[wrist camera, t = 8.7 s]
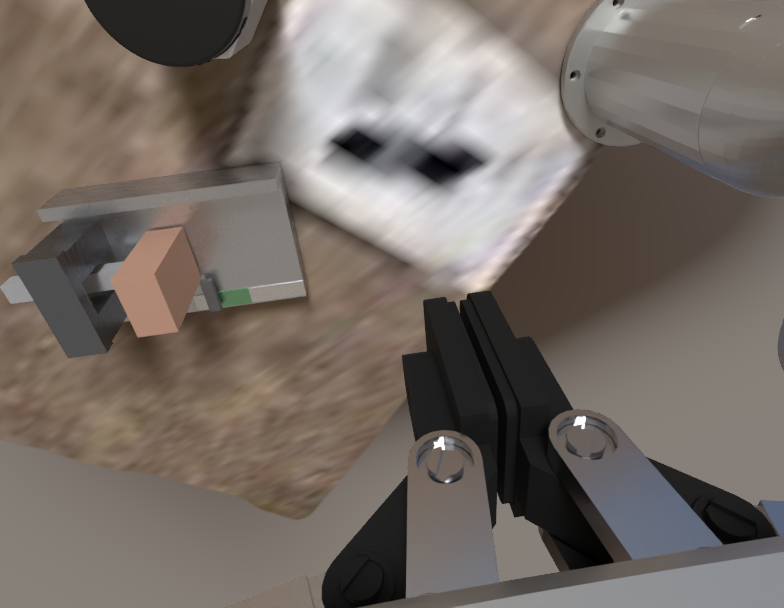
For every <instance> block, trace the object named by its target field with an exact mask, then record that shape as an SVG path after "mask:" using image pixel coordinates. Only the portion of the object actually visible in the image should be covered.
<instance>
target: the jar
mask: <svg viewBox="0 0 784 608" xmlns="http://www.w3.org/2000/svg"><path fill="white" fill-rule="evenodd" d="M267 1H268V0H85V2H86V4H87V6H88V8H89V9H90V11H91V13H92V14H93V15H94V17H95V18H96V20H97V21H98V22H99V23H100V25H101V26H102V27H103V28H104V29H105V30H106V31H107V33H108V34H109V35H110V36H111V37H113V38H114V39H115V40H116V41H117V42H118V43H119V44H121V45H122V46H123V47H125V48H126V49H128V50H129V51H131V52H132V53H134V54H136V55H137V56H139V57H141V58H144V59H146V60H148V61H151V62H154V63H157V64H161V65H165V66H172V67H188V66H194V65H201V64H203V63H206V62H209V61H211V60H213V59H229V58H231V57H232V56H233V55H235V54H236V53H237V52H239V51H240V50H241V49H243V48H244V47H245V46H247V45H248V44H250V43H251V41H252V39H253V36H254V34H255V31H256V28H257V26H258V23H259V21H260V18H261V16H262V13H263V11H264V8H265V6H266V3H267Z"/></svg>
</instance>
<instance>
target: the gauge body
mask: <svg viewBox="0 0 784 608" xmlns="http://www.w3.org/2000/svg"><path fill="white" fill-rule="evenodd" d="M36 211H37V213H38V215H39V216H40V218H41V220H42V222H48V221H56V220H59V221H60V223H61V224H60V225H59V226H58V227H56V228H55V229H54V230H53V231H52V232H51V233H50V234H49V235H47V236H46V237H45V238H44V239H43V240H42V241H41V242H40V243H39V244H37V245H36V246H35V247H34V248H33V249H32V250H31V251H30V252H28V253H27V254H26V255H22V256H20V257H19V258H17V259H16V260H15V261H14V262H13V263H12V265H13V267H14V269H15V270H16V272H17V274H18V275H19V277H20V279H21V280H22V282H23V284H24V285H25V287H26V289H27V290H28V292H29V294H30V295H31V297H32V299H33V300H34V302H35V304H36V305H37V307H38V309H39V310H40V312H41V314H42V315H43V317H44V319H45V320H46V322H47V324H48V325H49V327H50V329H51V330H52V332H53V334H54V335H55V337H56V339H57V340H58V342H59V344H60V345H61V347H62V349H63V350H64V352H65V354H66V355H67V357H68V358H73V357H80V356H87V355H94V354H101V353H107V352H108V351H109V349H110V347H111V346H112V344H113V342H112V340H113V339H114V337H115V335H116V334H117V332H118V330H119V329H120V327H121V325H122V324H123V322H126V321H130V320H129V318H128V316H127V314H126V312H125V310H124V308H123V306H122V304H121V302H120V300H119V297H118V295H117V293H116V291H115V289H114V290H107V291H100V292H93V293H86V291H85V289H84V287H83V285H82V283H83V281H84V280H85V279H86V278H87V277H88V275H89V274H90V273H91V272H92V271H93V269H94V268H95V267H96V266H97V265H101V264H108V263H116V262H123V261H125V259H126V258H127V257H128V255H129V254H130V252H131V251H132V250H133V248H134V247H135V246H136V244H137V243H138V242H139V240H140V239H141V238H142V236H143V235H144V233H145V232H146V231H153V230H161V229H168V228H176V227H183V229H184V232H185V235H186V237H187V240H188V243H189V246H190V248H191V251H192V254H193V257H194V259H195V262H196V265H197V268H198V270H199V273H200V276H201V279H209V278H213V281H214V284H215V287H216V290H217V293H218V296H219V299H220V301H221V304H222V308H226V307H233V306H240V305H247V304H254V303H261V302H268V301H275V300H282V299H289V298H296V297H303V296H307V279H306V274H305V270H304V266H303V261H302V257H301V252H300V248H299V243H298V239H297V234H296V230H295V226H294V221H293V217H292V212H291V208H290V203H289V199H288V194H287V190H286V186H285V181H284V177H283V172H282V168H281V163H280V161H279V162H272V163H264V164H256V165H248V166H241V167H233V168H225V169H218V170H210V171H202V172H195V173H187V174H179V175H172V176H164V177H156V178H149V179H141V180H133V181H125V182H118V183H110V184H102V185H95V186H87V187H79V188H72V189H64V190H61V191H60V192H59V193H58V194H56V195H55V196H54V197H52V198H51V199H50V200H48V201H47V202H46V203H45V204H43V205H42V206H41V207H39V208H38V209H37V210H36ZM204 310H209V308H208V305H207V302H206V299H205V297H204V294H203V291H202V289H201V286H200V283H199V285H198V288H197V290H196V292H195V294H194V297H193V299H192V301H191V304H190V306H189V308H188V311H187V313H190V312H197V311H204Z"/></svg>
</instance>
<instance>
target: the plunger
mask: <svg viewBox="0 0 784 608" xmlns="http://www.w3.org/2000/svg"><path fill="white" fill-rule="evenodd" d="M199 283H200V286H201V289H202V291H203V294H204V297H205V299H206V302H207V305H208V308H209V310H210V312H215V311H221V310H222V304H221V301H220V299H219V296H218V293H217V290H216V287H215V284H214V281H213V278H209V279H201V276H200V273H199V270H198V268H197V265H196V262H195V259H194V257H193V254H192V251H191V248H190V246H189V243H188V240H187V237H186V235H185V232H184V229H183V227H176V228H168V229H161V230H153V231H146V232H145V233H144V235H143V236H142V238H141V239H140V240H139V242H138V243H137V244H136V246H135V247H134V248H133V250H132V251H131V252H130V254H129V255H128V257H127V258H126V259H125V261H123V262H116V263H108V264H101V265H97V266H96V267H95V268H94V269H93V271H92V272H91V273H90V274H89V275H88V277H87V278H86V279H85V280H84V281H83V283H82V285H83V287H84V289H85V291H86V293H93V292H100V291H107V290H114V289H115V291H116V293H117V295H118V297H119V300H120V302H121V304H122V306H123V308H124V310H125V312H126V314H127V316H128V318H129V320H130V322H131V324H132V326H133V328H134V330H135V333H136V335H137V337H145V336H152V335H159V334H166V333H173V332H179V329H180V327H181V325H182V322H183V320H184V318H185V315H186V313H187V311H188V308H189V306H190V304H191V301H192V299H193V297H194V294H195V292H196V290H197V288H198V285H199ZM0 288H1V289H2V291H3V293H4V294H5V296H6V297H7V299H8V300H9V302H10V304H13V303H21V302H28V301H34V300H33V299H32V297H31V295H30V294H29V292H28V290H27V289H26V287H25V285H24V284H23V282H22V280H21V279H20V277H19V276H13V277H10V278H9V279H8V280H7V281H6V282H5V283H4V284H3V285H1V286H0Z"/></svg>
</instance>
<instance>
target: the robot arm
mask: <svg viewBox="0 0 784 608" xmlns="http://www.w3.org/2000/svg"><path fill="white" fill-rule="evenodd" d="M572 72H573V76H572V77H571V78H570V75H571V73H572ZM561 95H562V99H563V104H564V108H565V110H566V112H567V115H568V117H569V119H570V121H571V122H572V123H573V124H574V126H575V127H576V128H577V129H578V131H580V132H581V133H582V134H584V135H585V136H586V137H588V138H589V139H591V140H593V141H595V142H597V143H600V144H603V145H607V146H613V147H626V146H633V145H638V144H641V143H645V144H647V145H649V146H651V147H653V148H655V149H657V150H659V151H661V152H663V153H665V154H667V155H669V156H671V157H673V158H675V159H677V160H679V161H681V162H683V163H685V164H687V165H689V166H691V167H693V168H695V169H697V170H699V171H701V172H703V173H705V174H708V175H709V176H711V177H713V178H715V179H717V180H719V181H722V182H724V183H726V184H729V185H730V186H732V187H734V188H736V189H739V190H742V191H744V192H747V193H750V194H754V195H758V196H763V197H784V2H767V1H739V0H738V1H737V0H615V4H614V5H613V0H598V1H597V2H596V4H595V5H594V6H593V7H592V8H591V9H590V10H589V11H588V12H587V14H586V15H585V16H584V18H583V19H582V21H581V22H580V24H579V25H578V27H577V28H576V30H575V32H574V34H573V36H572V39H571V41H570V43H569V45H568V47H567V51H566V54H565V58H564V61H563V66H562V74H561ZM597 130H598V131H597ZM596 131H597V133H596ZM423 306H424V319H425V332H426V345H427V352H420V353H413V354H407V355H402V360H403V370H404V378H405V386H406V393H407V399H408V405H409V411H410V416H411V421H412V426H413V432H414V437H415V443H414V445H413V446H412V448H411V450H410V452H409V457H408V475H407V476H406V477H405V478H404V479H403V481H402V482H401V483H400V484H399V485H398V487H397V488H396V489H395V490H394V491H393V492H392V493H391V495H390V496H389V497H388V498H387V499H386V500H385V502H384V503H383V504H382V505H381V506H380V507H379V508H378V510H377V511H376V512H375V513H374V514H373V515H372V517H371V518H370V519H369V520H368V521H367V522H366V524H365V525H364V526H363V527H362V529H361V530H360V531H359V532H358V533H357V534H356V535H355V536H354V537H353V539H352V540H351V541H350V542H349V543H348V544H347V546H346V547H345V548H344V549H343V550H342V551H341V553H340V554H339V555H338V556H337V557H336V559H335V560H334V561H333V562H332V564H331V565H330V567H329V568H328V570H327V572H325V573H322V574H320V575H318V576H315V577H313V578H310V579H307V576H306V575H304V576H302V577H299V578H297V579H295V580H292V581H290V582H287V583H285V584H282V585H280V586H278V587H275V588H273V589H270V590H268V591H265V592H263V593H261V594H258V595H256V596H253V597H251V598H248V599H246V600H243V601H241V602H238V603H236V604H234V605H231V606H229V607H227V608H784V502H783V501H765V500H760V502H759V504H758V506H754V505H752V504H750V503H749V502H747V501H745V500H743V499H741V498H740V497H738V496H736V495H734V494H731V493H729V492H727V491H724V490H722V489H720V488H717V487H715V486H713V485H710V484H708V483H706V482H703V481H701V480H699V479H696V478H694V477H692V476H689V475H687V474H685V473H682V472H680V471H678V470H675V469H673V468H671V467H668V466H666V465H664V464H661V463H659V462H657V461H654V460H652V459H650V458H647V457H645V455H644V454H643V453H642V452H641V451H640V450H639V449H638V448H637V446H636V445H635V444H634V443H633V442H632V441H631V440H630V438H629V437H628V436H627V435H626V434H625V433H624V432H623V431H622V429H621V428H620V427H619V426H618V425H617V424H615V423H614V422H613V421H612V420H611V419H609V418H607V417H606V416H604V415H602V414H600V413H596V412H593V411H589V410H578V409H577V410H573V408H572V406H571V405H570V403H569V401H568V399H567V398H566V396H565V394H564V393H563V391H562V389H561V387H560V386H559V384H558V382H557V381H556V379H555V377H554V375H553V374H552V372H551V370H550V368H549V367H548V365H547V363H546V362H545V360H544V358H543V356H542V355H541V353H540V351H539V349H538V348H537V346H536V344H535V342H534V341H533V340H532V338H530V337H529V336H528V337H521V338H515V336H514V334H513V333H512V330H511V328H510V327H509V325H508V323H507V321H506V319H505V317H504V315H503V313H502V312H501V310H500V308H499V306H498V304H497V302H496V300H495V299H494V297H493V295H492V293H491V291H482V292H475V293H469V294H467V300H461V301H460V313H459V311H458V308H457V306H456V304H455V302H454V301H453V302H447V299H446V297H441V298H434V299H427V300H424V301H423ZM778 356H779V360H780V364H781V367H782V368H783V370H784V319H783V323H782V326H781V329H780V333H779V338H778ZM497 493H498V496H499V498H500V501H501V503H502V504H505V503H510V506H511V509H512V512H513V515H514V517H520V516H524V517H525V519H526V520H528V521H530V522H532V523H533V524H535V525H537V526H538V530H539V533H540V536H541V539H542V541H543V542H544V544H545V546H546V548H547V550H548V552H549V553H550V555H551V557H552V559H553V561H554V562H555V564H556V566H557V568H558V570H559V571H560V572H557V573H551V574H545V575H539V576H533V577H528V578H522V579H516V580H510V581H504V582H499V575H498V568H497V561H496V553H495V546H494V539H493V532H492V529H493V527H494V526H495V524H496V505H497Z"/></svg>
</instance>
